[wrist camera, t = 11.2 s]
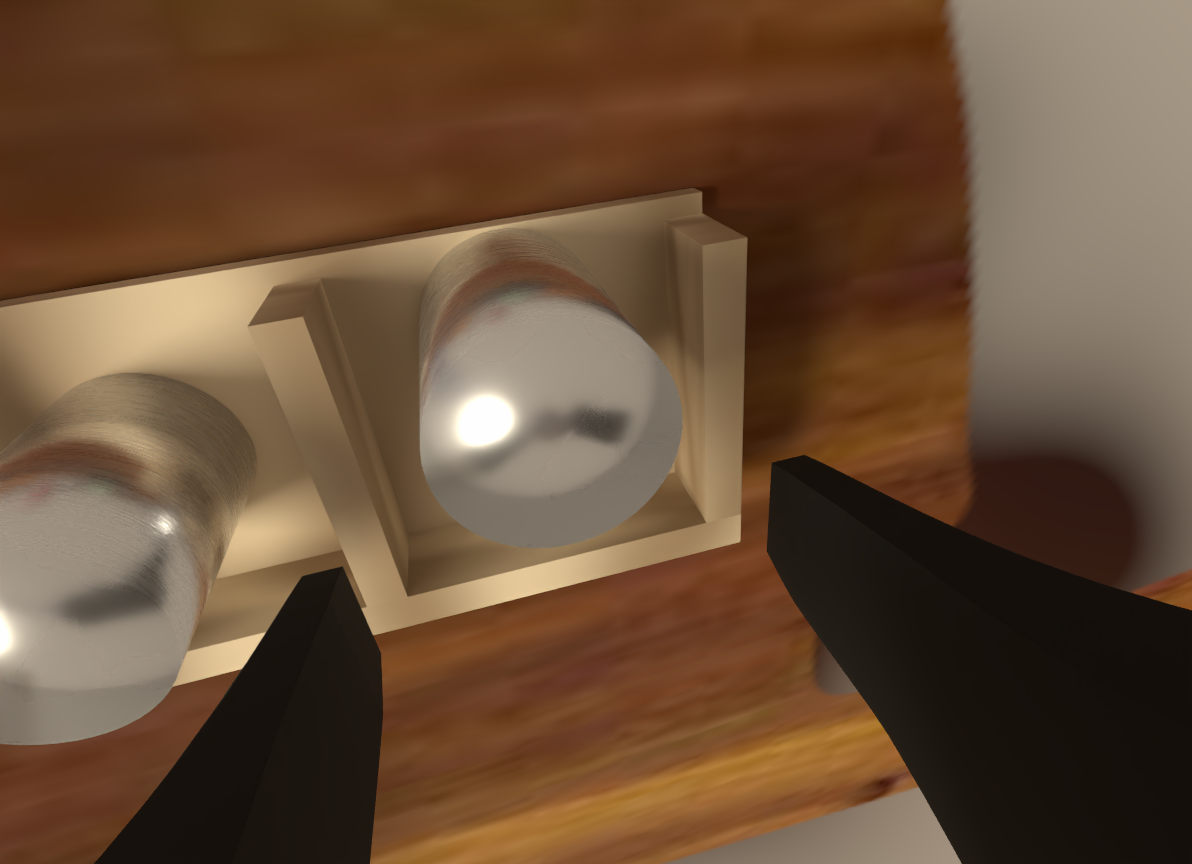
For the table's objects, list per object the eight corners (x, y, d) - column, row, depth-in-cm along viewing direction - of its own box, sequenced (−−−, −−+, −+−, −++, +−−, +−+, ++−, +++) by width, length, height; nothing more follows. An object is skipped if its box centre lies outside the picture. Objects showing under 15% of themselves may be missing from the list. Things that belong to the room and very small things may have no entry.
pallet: (55, 632, 17) (-9, 732, 15) (-195, 332, 13) (-353, 402, 10) (699, 480, 20) (739, 541, 18) (692, 187, 15) (747, 212, 13)
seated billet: (102, 547, 16) (-45, 772, 11) (-4, 395, 14) (-254, 592, 8) (283, 507, 16) (224, 702, 11) (212, 355, 14) (98, 517, 9)
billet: (462, 423, 16) (481, 581, 11) (386, 267, 14) (369, 380, 9) (618, 364, 17) (703, 494, 12) (568, 200, 14) (650, 275, 9)
